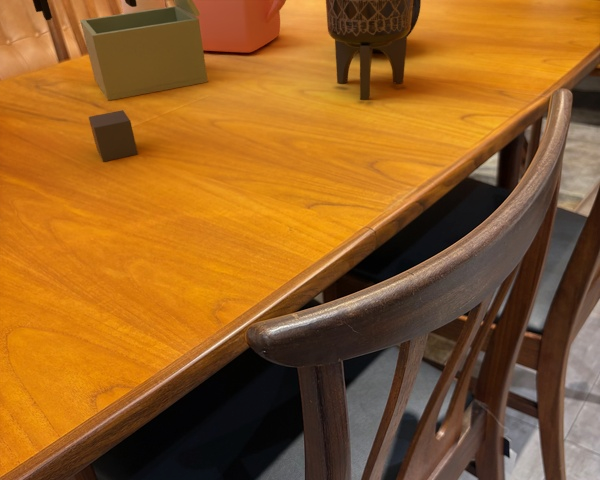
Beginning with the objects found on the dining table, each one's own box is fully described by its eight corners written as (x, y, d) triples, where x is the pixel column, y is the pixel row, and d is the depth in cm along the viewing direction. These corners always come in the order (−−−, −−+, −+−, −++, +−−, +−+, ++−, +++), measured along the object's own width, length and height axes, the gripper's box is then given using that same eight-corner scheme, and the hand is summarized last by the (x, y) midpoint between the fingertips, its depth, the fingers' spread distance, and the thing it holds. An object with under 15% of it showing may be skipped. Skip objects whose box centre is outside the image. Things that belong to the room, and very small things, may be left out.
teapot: (274, 57, 111) (268, -28, 103) (171, 52, 119) (157, -28, 110) (313, 31, 126) (310, -46, 118) (219, 27, 133) (210, -45, 125)
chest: (108, 100, 97) (92, 35, 91) (95, 80, 107) (79, 20, 101) (207, 81, 102) (198, 18, 96) (187, 64, 112) (177, 5, 106)
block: (103, 162, 78) (93, 127, 75) (97, 150, 81) (88, 116, 78) (138, 154, 79) (130, 120, 76) (130, 142, 82) (123, 109, 80)
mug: (133, 43, 126) (119, -22, 119) (174, 39, 127) (163, -26, 120) (128, 58, 117) (113, -11, 110) (173, 54, 118) (161, -15, 110)
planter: (309, 92, 95) (303, -37, 84) (359, 70, 103) (359, -51, 92) (378, 107, 88) (381, -32, 77) (426, 82, 95) (435, -47, 85)
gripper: (122, -177, 66) (155, -5, 77) (-49, -167, 61) (10, 17, 71) (138, -182, 61) (170, 5, 71) (-50, -171, 56) (15, 29, 66)
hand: (90, 11), depth 71 cm, fingers open, 9 cm apart
